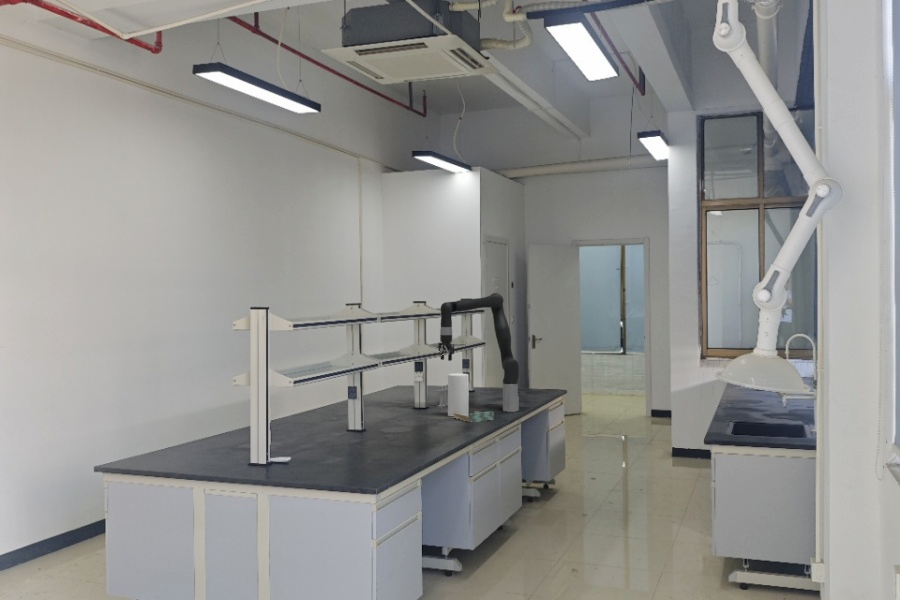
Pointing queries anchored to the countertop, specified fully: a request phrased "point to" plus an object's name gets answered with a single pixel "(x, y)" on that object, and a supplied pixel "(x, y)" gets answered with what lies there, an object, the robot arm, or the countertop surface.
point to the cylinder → (458, 394)
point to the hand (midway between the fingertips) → (446, 360)
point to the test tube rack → (443, 395)
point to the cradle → (476, 416)
